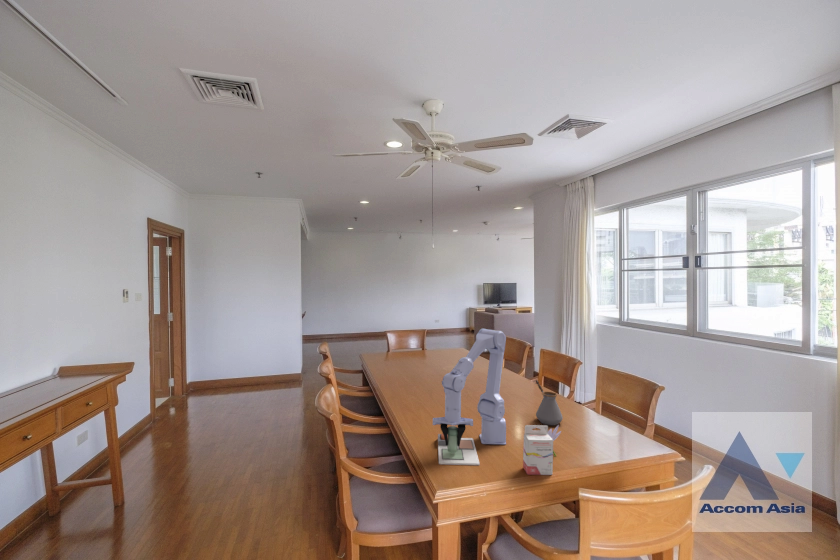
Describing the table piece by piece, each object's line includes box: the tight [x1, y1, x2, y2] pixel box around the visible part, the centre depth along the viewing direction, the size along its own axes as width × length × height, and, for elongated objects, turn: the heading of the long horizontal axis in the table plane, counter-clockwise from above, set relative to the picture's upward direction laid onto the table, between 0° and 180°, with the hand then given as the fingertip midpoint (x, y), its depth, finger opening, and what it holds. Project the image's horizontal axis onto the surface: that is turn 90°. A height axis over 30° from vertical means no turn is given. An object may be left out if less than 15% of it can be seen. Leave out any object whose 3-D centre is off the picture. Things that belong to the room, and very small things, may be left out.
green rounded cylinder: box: [447, 425, 458, 453], centre depth 132 cm, size 4×4×8 cm
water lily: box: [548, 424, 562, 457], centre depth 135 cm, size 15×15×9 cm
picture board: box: [437, 433, 481, 466], centre depth 136 cm, size 14×20×2 cm
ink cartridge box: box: [522, 424, 554, 476], centre depth 122 cm, size 9×5×15 cm, turn 92°
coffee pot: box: [534, 379, 564, 426], centre depth 170 cm, size 21×12×15 cm, turn 5°
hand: (452, 444), depth 132 cm, fingers closed on green rounded cylinder, 4 cm apart
